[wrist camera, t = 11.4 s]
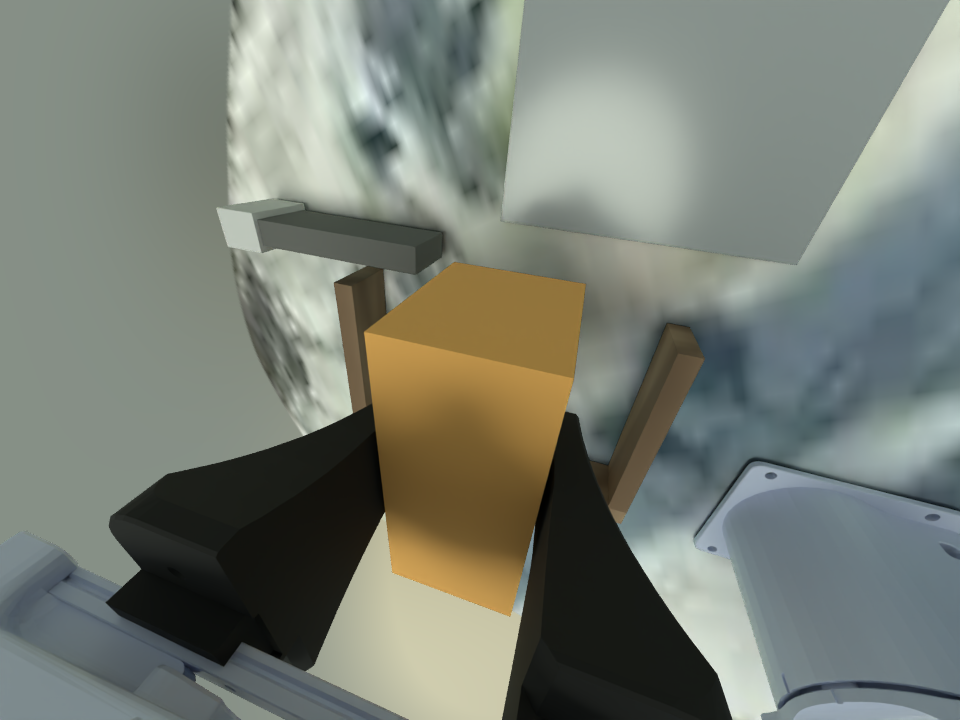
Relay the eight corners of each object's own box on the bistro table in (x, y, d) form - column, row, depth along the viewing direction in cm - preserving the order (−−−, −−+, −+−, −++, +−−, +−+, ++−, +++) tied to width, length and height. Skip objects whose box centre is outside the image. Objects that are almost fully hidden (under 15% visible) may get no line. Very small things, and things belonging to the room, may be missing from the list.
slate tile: (1104, -286, 8) (1126, -305, 7) (791, 262, 14) (796, 265, 14) (552, -224, 10) (550, -237, 10) (502, 219, 16) (500, 221, 16)
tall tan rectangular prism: (586, 283, 10) (574, 378, 6) (535, 487, 15) (510, 616, 11) (454, 262, 11) (364, 331, 7) (447, 461, 16) (392, 572, 12)
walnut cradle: (689, 327, 16) (704, 358, 14) (618, 482, 22) (620, 523, 20) (367, 265, 20) (333, 282, 17) (380, 415, 26) (357, 443, 23)
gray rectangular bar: (443, 225, 17) (412, 240, 14) (443, 262, 18) (413, 282, 15) (272, 198, 19) (216, 207, 16) (279, 232, 20) (227, 246, 17)
